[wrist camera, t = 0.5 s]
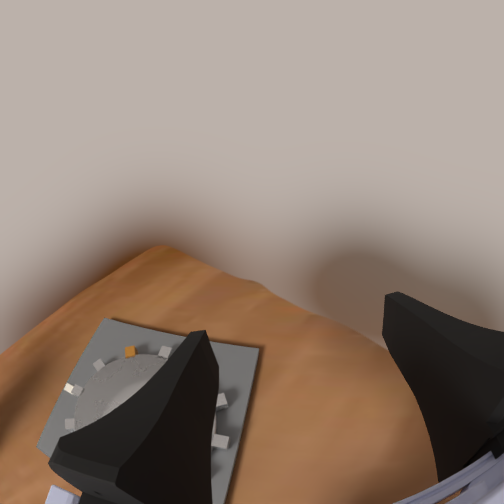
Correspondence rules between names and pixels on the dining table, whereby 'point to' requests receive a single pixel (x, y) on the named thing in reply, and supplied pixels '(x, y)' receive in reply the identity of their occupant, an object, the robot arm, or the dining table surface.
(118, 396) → the sprocket
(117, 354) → the timing board
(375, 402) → the dining table surface
